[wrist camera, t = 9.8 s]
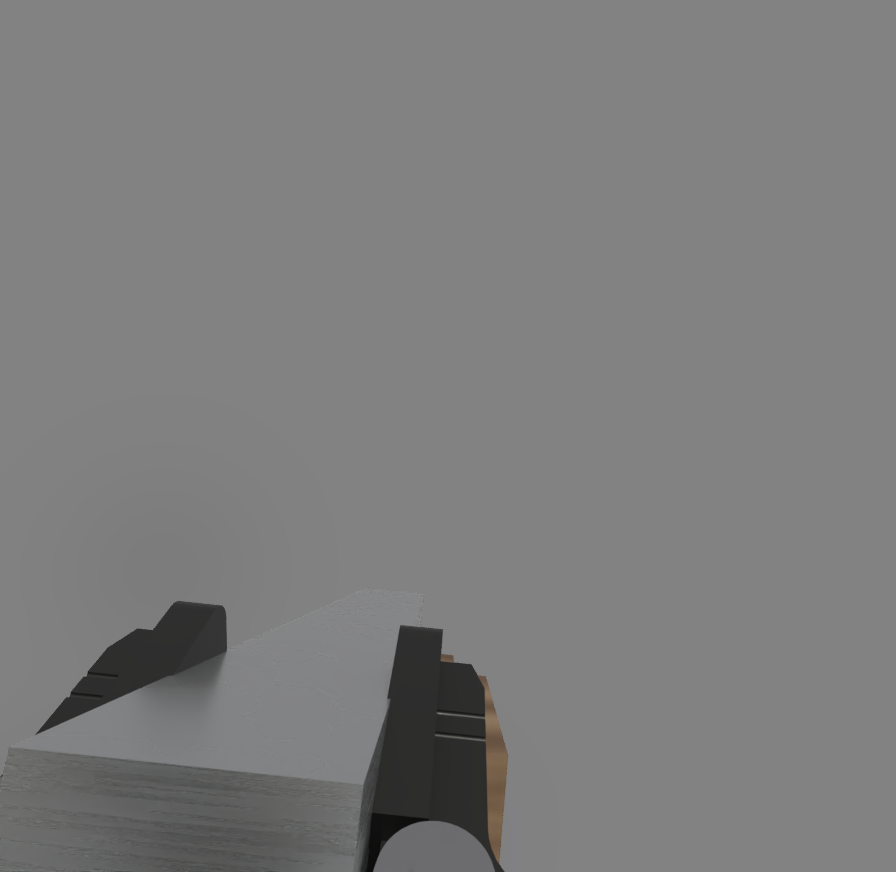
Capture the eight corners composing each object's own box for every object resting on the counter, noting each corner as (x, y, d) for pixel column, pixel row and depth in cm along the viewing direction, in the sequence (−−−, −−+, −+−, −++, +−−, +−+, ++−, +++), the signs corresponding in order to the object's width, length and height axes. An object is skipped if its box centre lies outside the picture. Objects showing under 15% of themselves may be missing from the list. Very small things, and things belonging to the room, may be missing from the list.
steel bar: (311, 1213, 5) (363, 784, 5) (-83, 1170, 5) (8, 747, 5) (417, 654, 32) (424, 593, 33) (358, 648, 32) (365, 587, 33)
